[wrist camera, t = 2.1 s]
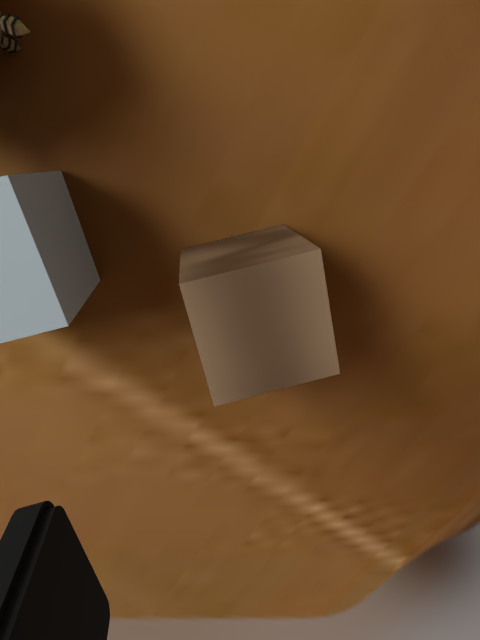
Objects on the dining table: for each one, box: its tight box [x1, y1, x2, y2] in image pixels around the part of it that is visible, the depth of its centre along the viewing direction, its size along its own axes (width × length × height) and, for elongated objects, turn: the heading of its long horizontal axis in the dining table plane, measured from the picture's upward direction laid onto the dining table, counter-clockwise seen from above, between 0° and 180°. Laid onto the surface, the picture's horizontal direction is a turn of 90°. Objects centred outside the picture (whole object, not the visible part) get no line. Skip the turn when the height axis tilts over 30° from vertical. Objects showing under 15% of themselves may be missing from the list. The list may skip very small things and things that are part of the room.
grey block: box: [0, 171, 100, 343], centre depth 16 cm, size 5×5×6 cm
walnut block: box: [179, 224, 340, 407], centre depth 18 cm, size 5×5×6 cm
